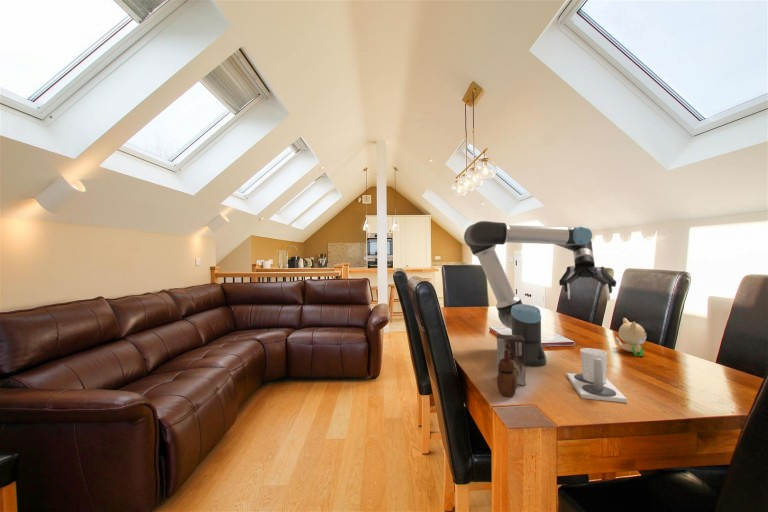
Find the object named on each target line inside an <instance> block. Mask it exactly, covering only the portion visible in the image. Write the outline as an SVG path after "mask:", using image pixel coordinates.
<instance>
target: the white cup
mask: <svg viewBox="0 0 768 512" xmlns="http://www.w3.org/2000/svg"><path fill="white" fill-rule="evenodd" d="M579 352H580V363H581V371H582V374H583V379H584V380H586V381H589V382H592V383H594V358H598V359H602V360H603V383H605V382H606V378H607V374H608V370H607V369H608V352H607V351H605V350H603V349H599V348H594V347H593V348H591V347H590V348H589V347H583V348H580V351H579Z"/></svg>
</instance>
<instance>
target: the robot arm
mask: <svg viewBox="0 0 768 512" xmlns="http://www.w3.org/2000/svg"><path fill="white" fill-rule="evenodd" d="M592 238H593V233H592V230H591V229H590V228H588V227H586V226H576V227H575V226H574V227H572V226H570V227H569V226H568V227H567V226H543V225H542V226H541V225H513V224H512V225H511V224H510V225H508V224H507V223H506V222H498V221H497V222H496V221H488V220H480V221H477V222H475V223H474V224H471V225H469V226H468V227H467V228H466V230H465V231H464V234H463V241H464V242H465V244H466V246H468V247H469V248H470V251H471V253H472V255H473V256H475V257H477V259H478V262H479V264H480V266H481V268H482V270H483V272H484V274H485V277H486V278H487V279H486V280H487V281H488V284H489V286H490V288H491V291H492V292H493V295H494V296H495V300H496V301H497V303H496V304H495V307H496V310H497V313H498V314H497V315H498V319H499V321H500V323H502V324H501V325H503V326H505V327H506V328H508V329H510V330H511V335H522V336H523V339H524V355H525V366H526V365H527V366H528V367H541V366H544V365H546V364H547V356H546V352H545V350H544V347H543V345H542V313H541V310H540V308H538V307H537V306H535V305H530V304H525V303H524V304H523V301H522V299H521V297H520V296H517V295H515V292H514V290H513V288H512V285H511V284H510V281H509V278H508V276H507V275H506V272H505V270H504V267H503V266H502V263H501V261H500V259H499V256H498V255H497V252H496V248H497V245H505V244H506V243H509V244H510V243H511V244H514V243H515V244H518V243H519V244H540V245H542V244H543V245H544V244H546V245H555V246H558V247H561V248H564V249H566V250H568V251H572V253H573V260H574V261H573V263H574V268H572V267H570V266H567V267H566V271H565V272H564V274H563V275H562V276H561V278H560V279H559V281H558V282H559V283H558V285H559V286H561V287H562V286H563V288H564V292H565V293H567V299H568V300H571V290H570V285H571V284H572V283H573V282H575V281H576V280H578V279H579V278H582V279H584V278H588V279H590V278H592V279H593V280H595V281H598V283H601V284H602V285H603V286H604V290H605V294H606V300H607V301H610V300H611V294H612V293H613V287H617V281H616V280H615V279H614V278H613V276H612V275H610V273H608V272H607V270H606V269H605V266H600V268H597V267H596V265H595V264H596V263H595V259H594V257H595V256H594V250H593V243H592V242H593V241H592ZM573 272H574V274H572V273H573ZM571 274H572V275H571ZM570 275H571V276H570ZM527 366H526V367H527Z"/></svg>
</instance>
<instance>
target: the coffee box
mask: <svg viewBox="0 0 768 512" xmlns="http://www.w3.org/2000/svg"><path fill="white" fill-rule="evenodd" d="M506 350H508V359H510V360H512V361H513V363H514V370H513V372H514V373H515V375H516V379H517V384H521V385H520V386H526V385H527V384H526V365H525V355H524V339H523V336H522V335H512V334H503V333H502V334H501V333H499V334H496V353H497V355H496V356H497V374H498V373H499V371H501V370H500V368H499V362H500V360H501V359H504V355H505V352H506Z"/></svg>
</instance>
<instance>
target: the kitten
mask: <svg viewBox="0 0 768 512" xmlns="http://www.w3.org/2000/svg"><path fill="white" fill-rule="evenodd" d="M618 336H619V338H618V337H617V336H616V337H615V338H614V341H615V343H616V344H617V345H618V346H619V347H620V348H621V349H623V350H625V351H626V352H629V353H633V356H635V357H639V356H643V357H644V349H643V346H642V344H644V343H645V342H646V339H647V336H648V334H647V332H646V331H645V329H644V328H643V326H642V325H641V324H639V323H636V321H632V322H630V321H629V320H628V319H627V318H626V317H623V318H622V324H621V326H620V327H619V329H618ZM620 339H621V340H622V341H623V342H625V343H624V344H623V343H622V342H621V340H620Z"/></svg>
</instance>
